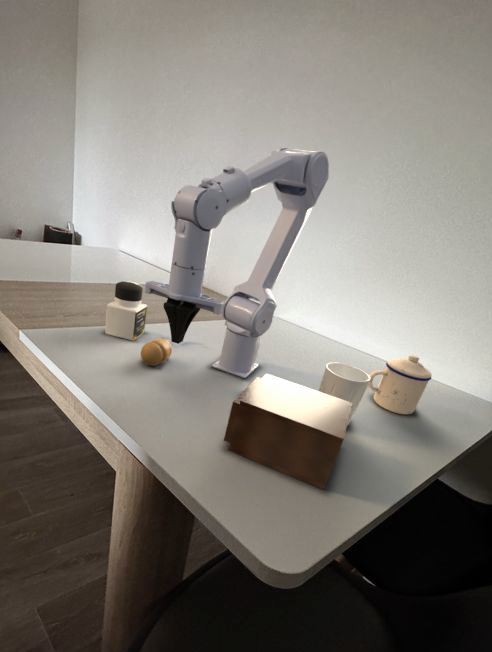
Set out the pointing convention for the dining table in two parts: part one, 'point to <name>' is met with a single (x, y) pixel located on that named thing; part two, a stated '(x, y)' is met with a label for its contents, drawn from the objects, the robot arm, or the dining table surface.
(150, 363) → the bread roll
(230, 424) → the drawer
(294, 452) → the cabinet
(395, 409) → the teacup with lid
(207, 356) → the dining table surface
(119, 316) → the medicine bottle
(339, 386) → the white cup
